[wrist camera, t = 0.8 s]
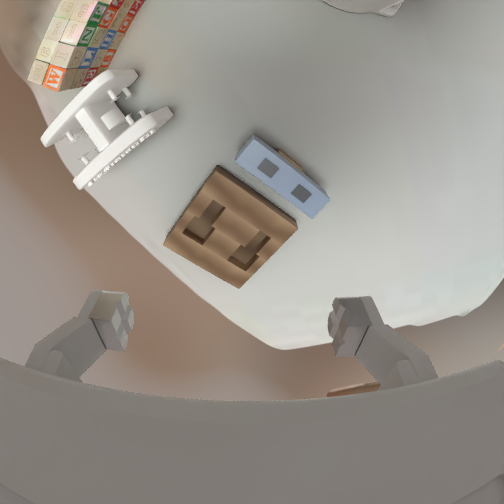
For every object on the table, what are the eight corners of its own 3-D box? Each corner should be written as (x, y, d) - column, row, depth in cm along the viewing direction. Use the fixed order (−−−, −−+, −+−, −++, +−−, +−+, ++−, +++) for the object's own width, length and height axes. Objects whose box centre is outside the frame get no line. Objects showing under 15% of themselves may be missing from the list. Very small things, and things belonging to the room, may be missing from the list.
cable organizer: (142, 64, 33) (108, 62, 24) (179, 116, 38) (156, 130, 29) (75, 123, 37) (34, 142, 28) (109, 170, 42) (76, 198, 33)
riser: (278, 148, 42) (279, 152, 40) (300, 166, 43) (303, 171, 41) (260, 169, 44) (260, 174, 42) (282, 186, 45) (284, 192, 43)
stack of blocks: (135, -37, 22) (102, -63, 12) (167, -30, 24) (141, -59, 14) (72, 74, 32) (25, 81, 22) (100, 85, 34) (56, 93, 24)
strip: (252, 131, 39) (253, 139, 35) (322, 186, 44) (330, 200, 40) (236, 152, 41) (234, 162, 37) (305, 204, 46) (312, 219, 42)
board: (217, 164, 43) (215, 170, 40) (295, 219, 49) (298, 228, 46) (167, 235, 50) (163, 245, 47) (239, 278, 56) (238, 288, 53)
